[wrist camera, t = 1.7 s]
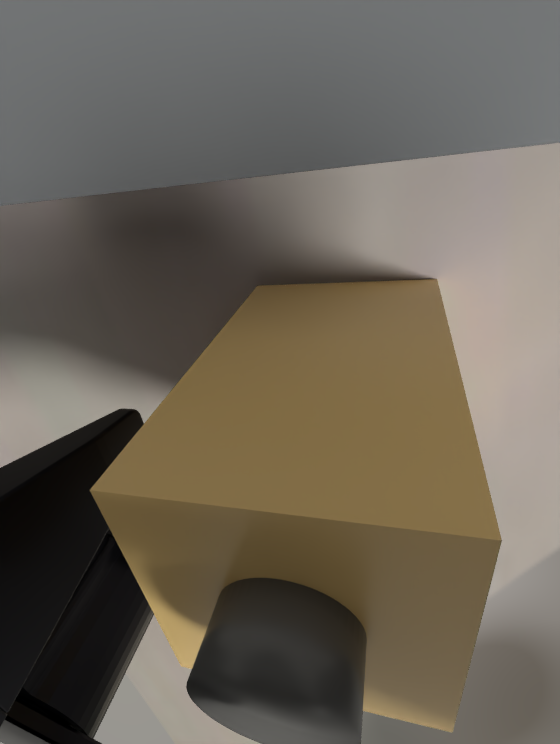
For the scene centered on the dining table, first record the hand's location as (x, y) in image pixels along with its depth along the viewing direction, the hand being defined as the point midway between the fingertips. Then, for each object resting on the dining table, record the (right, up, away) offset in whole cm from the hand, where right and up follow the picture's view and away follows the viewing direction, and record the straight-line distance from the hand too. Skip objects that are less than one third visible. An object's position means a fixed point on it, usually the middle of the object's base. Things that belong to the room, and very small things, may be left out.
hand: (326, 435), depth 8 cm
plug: (+1, +2, +3) cm, 3 cm away
